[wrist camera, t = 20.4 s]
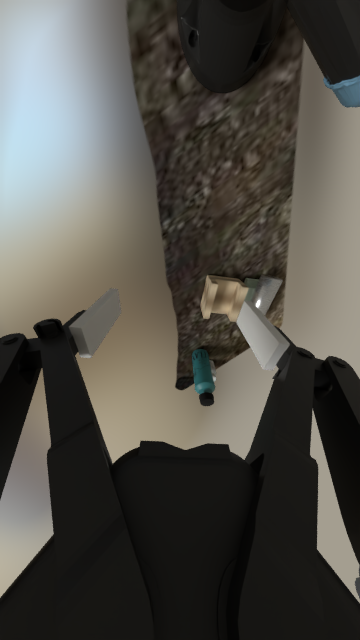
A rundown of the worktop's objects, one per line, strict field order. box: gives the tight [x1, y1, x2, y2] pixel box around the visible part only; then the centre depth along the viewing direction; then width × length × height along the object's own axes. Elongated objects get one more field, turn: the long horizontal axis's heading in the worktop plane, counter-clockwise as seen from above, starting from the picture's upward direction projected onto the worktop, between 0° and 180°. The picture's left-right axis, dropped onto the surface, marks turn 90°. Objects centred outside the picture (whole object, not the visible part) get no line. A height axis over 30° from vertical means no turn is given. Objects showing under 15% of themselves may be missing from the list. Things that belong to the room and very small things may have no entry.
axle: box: [250, 275, 283, 316], centre depth 40 cm, size 14×5×5 cm, turn 173°
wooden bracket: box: [201, 275, 249, 322], centre depth 42 cm, size 10×9×8 cm
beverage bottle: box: [192, 349, 215, 406], centre depth 50 cm, size 6×7×20 cm
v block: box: [241, 278, 259, 308], centre depth 43 cm, size 9×7×4 cm
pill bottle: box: [209, 360, 216, 381], centre depth 59 cm, size 4×4×8 cm
